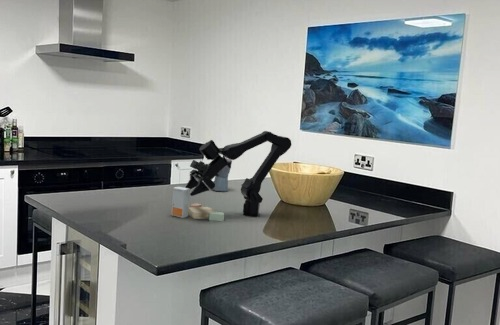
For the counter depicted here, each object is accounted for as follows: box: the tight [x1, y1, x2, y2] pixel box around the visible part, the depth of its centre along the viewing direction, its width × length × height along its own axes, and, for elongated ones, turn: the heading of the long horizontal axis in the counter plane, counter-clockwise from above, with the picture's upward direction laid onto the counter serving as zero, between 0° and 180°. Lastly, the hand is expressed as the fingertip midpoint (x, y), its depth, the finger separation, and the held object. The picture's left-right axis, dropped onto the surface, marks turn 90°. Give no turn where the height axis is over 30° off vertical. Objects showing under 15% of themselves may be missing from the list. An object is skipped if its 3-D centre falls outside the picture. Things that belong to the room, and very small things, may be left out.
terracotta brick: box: [189, 202, 203, 207], centre depth 217 cm, size 6×3×3 cm, turn 160°
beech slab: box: [188, 206, 217, 220], centre depth 210 cm, size 10×10×2 cm
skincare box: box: [171, 186, 191, 219], centre depth 205 cm, size 6×4×12 cm
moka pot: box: [211, 155, 233, 193], centre depth 269 cm, size 10×15×20 cm, turn 148°
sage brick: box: [207, 211, 225, 222], centre depth 205 cm, size 6×3×3 cm, turn 102°
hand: (187, 193), depth 206 cm, fingers open, 9 cm apart
